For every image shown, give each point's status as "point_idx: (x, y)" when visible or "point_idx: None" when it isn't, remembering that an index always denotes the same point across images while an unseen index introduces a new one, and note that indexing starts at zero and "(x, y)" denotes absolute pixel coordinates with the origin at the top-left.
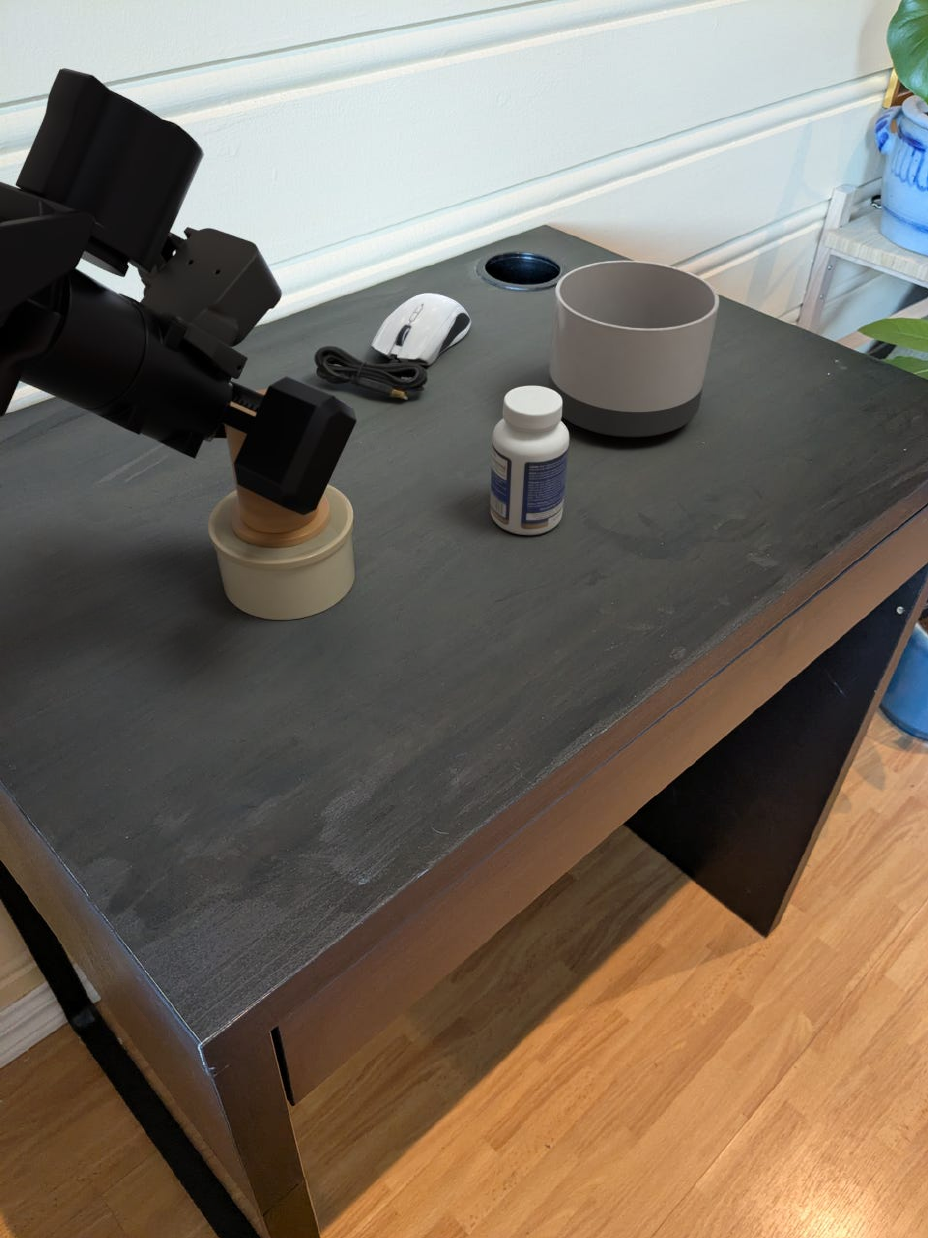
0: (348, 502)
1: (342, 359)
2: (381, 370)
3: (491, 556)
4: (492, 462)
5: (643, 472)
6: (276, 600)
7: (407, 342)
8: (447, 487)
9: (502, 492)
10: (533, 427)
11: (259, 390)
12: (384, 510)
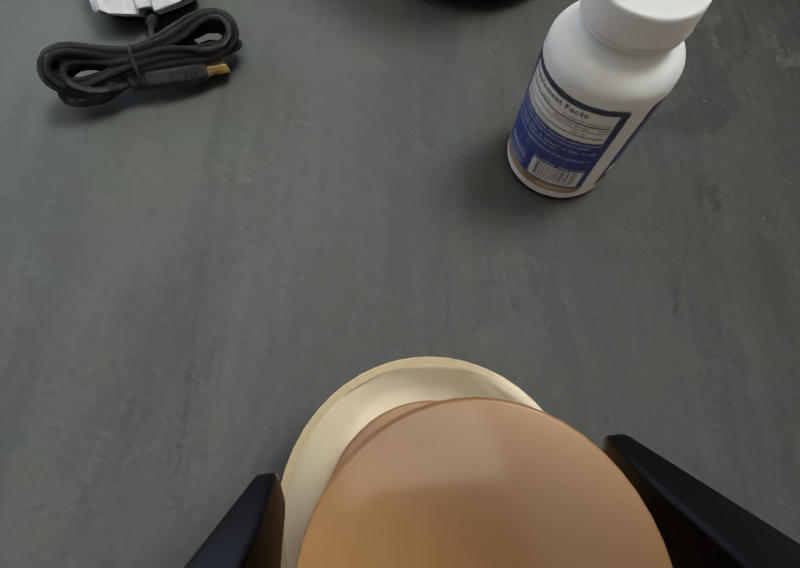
0: (488, 372)
1: (89, 59)
2: (167, 46)
3: (592, 248)
4: (563, 126)
5: None
6: None
7: None
8: (429, 178)
9: (583, 160)
10: (687, 36)
11: (329, 490)
12: (403, 272)
